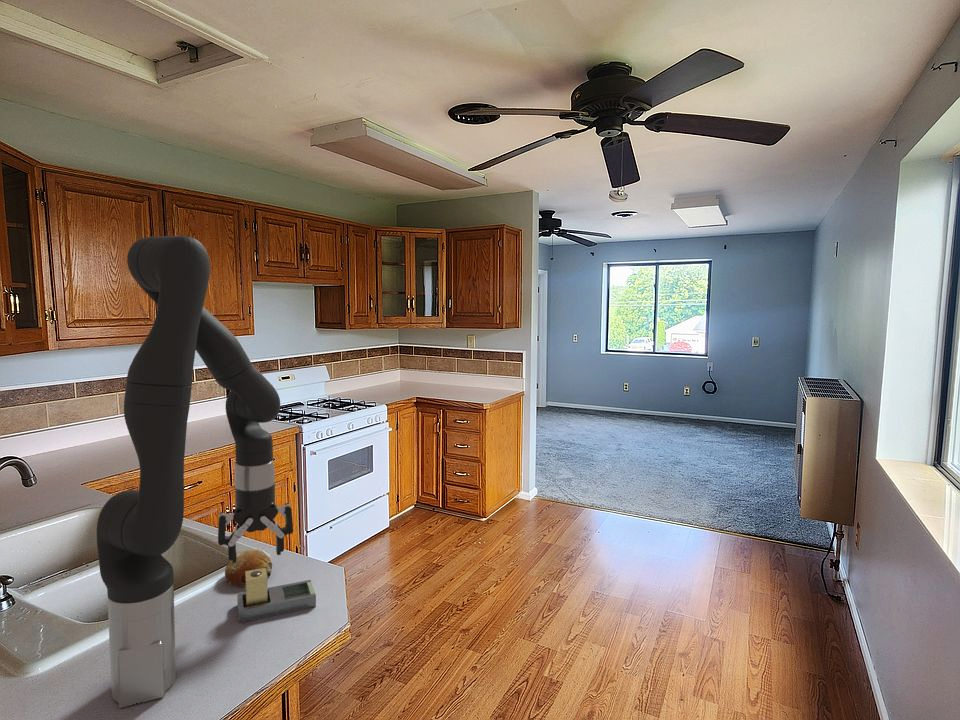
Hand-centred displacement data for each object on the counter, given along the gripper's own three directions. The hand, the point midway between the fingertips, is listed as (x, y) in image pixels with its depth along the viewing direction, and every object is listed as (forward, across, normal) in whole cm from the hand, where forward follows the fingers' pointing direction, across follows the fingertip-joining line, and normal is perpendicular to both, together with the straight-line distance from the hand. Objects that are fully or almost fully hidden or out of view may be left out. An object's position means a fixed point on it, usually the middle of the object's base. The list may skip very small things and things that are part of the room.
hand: (256, 557), depth 112 cm
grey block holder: (+12, +4, 0) cm, 12 cm away
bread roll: (+12, -1, +14) cm, 19 cm away
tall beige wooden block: (+12, 0, 0) cm, 12 cm away
